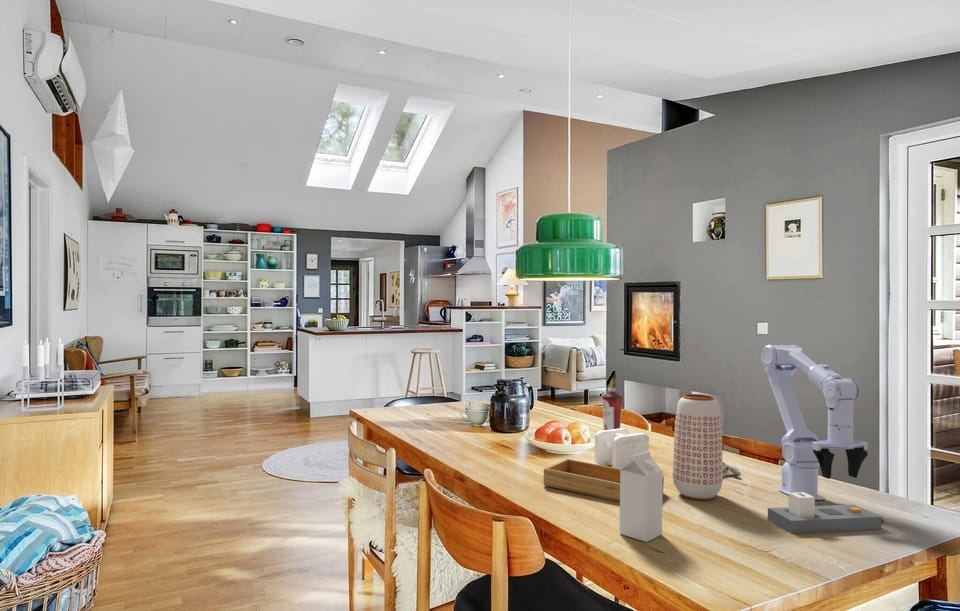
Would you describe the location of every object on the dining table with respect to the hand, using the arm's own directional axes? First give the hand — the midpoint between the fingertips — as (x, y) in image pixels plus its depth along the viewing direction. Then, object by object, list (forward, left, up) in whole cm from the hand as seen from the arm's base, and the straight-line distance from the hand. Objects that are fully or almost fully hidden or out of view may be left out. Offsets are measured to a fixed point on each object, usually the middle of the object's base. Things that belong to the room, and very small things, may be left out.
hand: (839, 477), depth 158 cm
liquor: (-77, -33, -10) cm, 84 cm away
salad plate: (-43, -13, -10) cm, 46 cm away
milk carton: (+8, -58, -10) cm, 59 cm away
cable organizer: (-49, -40, -10) cm, 64 cm away
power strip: (+7, -8, -9) cm, 14 cm away
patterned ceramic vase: (-18, -30, -10) cm, 36 cm away
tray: (-26, -55, -10) cm, 62 cm away
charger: (+7, -16, -9) cm, 20 cm away
